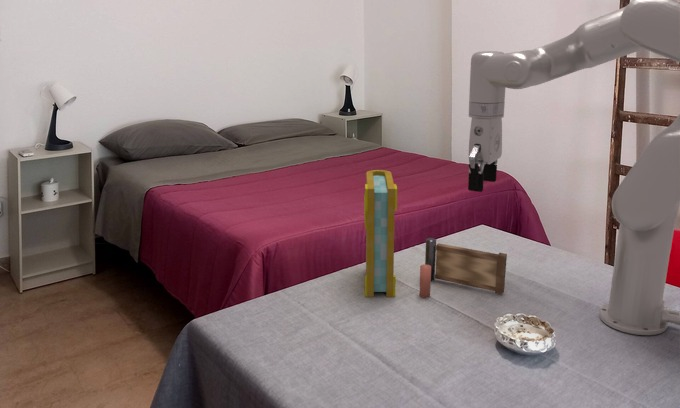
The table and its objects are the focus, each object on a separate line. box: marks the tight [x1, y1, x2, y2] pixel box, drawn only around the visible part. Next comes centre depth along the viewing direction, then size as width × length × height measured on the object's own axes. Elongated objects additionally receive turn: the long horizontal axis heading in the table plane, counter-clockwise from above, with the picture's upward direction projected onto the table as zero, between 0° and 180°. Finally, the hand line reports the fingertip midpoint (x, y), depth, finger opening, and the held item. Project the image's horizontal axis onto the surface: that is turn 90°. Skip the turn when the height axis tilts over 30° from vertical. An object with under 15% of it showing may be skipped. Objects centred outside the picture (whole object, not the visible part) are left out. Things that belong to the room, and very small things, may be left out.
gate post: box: [424, 237, 437, 282], centre depth 145 cm, size 2×2×10 cm
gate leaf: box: [435, 242, 508, 296], centre depth 140 cm, size 16×2×9 cm, turn 59°
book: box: [363, 169, 398, 298], centre depth 142 cm, size 17×7×25 cm, turn 179°
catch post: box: [418, 263, 432, 299], centre depth 137 cm, size 2×2×7 cm
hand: (482, 185), depth 139 cm, fingers open, 9 cm apart
